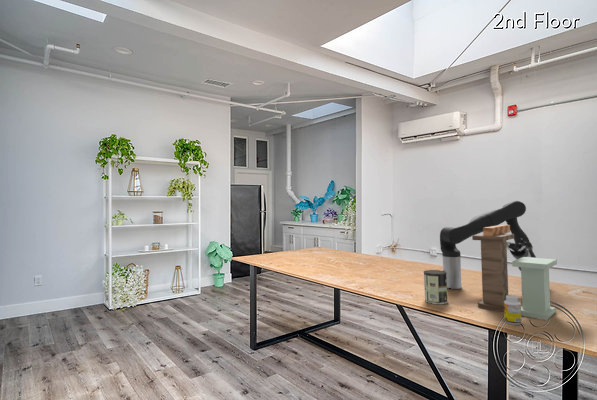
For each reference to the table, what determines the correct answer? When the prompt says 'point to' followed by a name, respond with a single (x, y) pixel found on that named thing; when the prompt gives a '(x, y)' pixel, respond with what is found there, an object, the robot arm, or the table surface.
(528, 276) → the low stand
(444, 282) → the coffee can
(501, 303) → the tall stand
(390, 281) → the table surface
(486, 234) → the block
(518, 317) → the supplement bottle
